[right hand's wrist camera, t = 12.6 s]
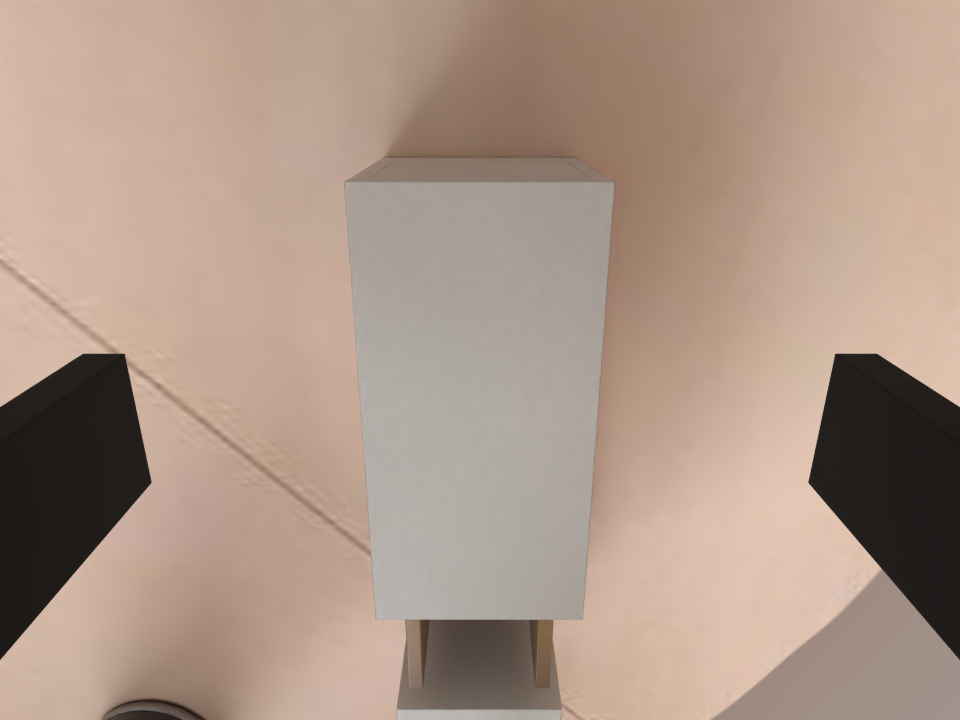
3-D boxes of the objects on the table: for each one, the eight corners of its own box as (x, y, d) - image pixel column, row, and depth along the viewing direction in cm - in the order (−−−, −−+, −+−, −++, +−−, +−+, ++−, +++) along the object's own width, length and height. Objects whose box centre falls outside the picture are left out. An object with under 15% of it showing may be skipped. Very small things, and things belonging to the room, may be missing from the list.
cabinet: (558, 497, 43) (582, 620, 33) (400, 497, 43) (375, 620, 33) (576, 157, 35) (615, 181, 25) (383, 157, 35) (343, 181, 25)
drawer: (543, 675, 48) (556, 800, 39) (415, 675, 48) (401, 799, 39) (559, 330, 38) (581, 397, 30) (400, 330, 38) (376, 397, 30)
